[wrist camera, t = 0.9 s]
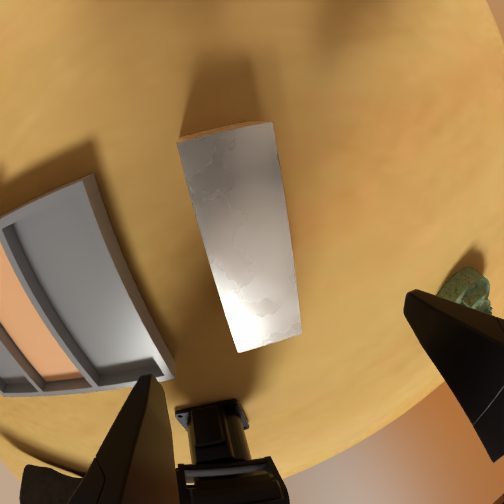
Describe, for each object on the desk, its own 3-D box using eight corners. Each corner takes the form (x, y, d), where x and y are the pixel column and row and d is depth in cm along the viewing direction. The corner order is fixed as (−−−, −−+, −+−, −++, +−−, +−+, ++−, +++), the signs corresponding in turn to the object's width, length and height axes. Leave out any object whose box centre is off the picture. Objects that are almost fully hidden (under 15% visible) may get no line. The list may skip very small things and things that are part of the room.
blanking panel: (280, 292, 21) (301, 333, 17) (226, 308, 20) (238, 352, 16) (249, 120, 15) (272, 122, 11) (179, 137, 14) (176, 143, 11)
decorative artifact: (413, 315, 26) (431, 346, 31) (453, 357, 20) (460, 381, 25) (471, 250, 25) (479, 294, 29) (515, 282, 18) (511, 322, 23)
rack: (174, 360, 21) (175, 391, 18) (9, 383, 19) (1, 405, 16) (93, 172, 14) (74, 186, 11) (-70, 261, 12) (-88, 279, 9)
